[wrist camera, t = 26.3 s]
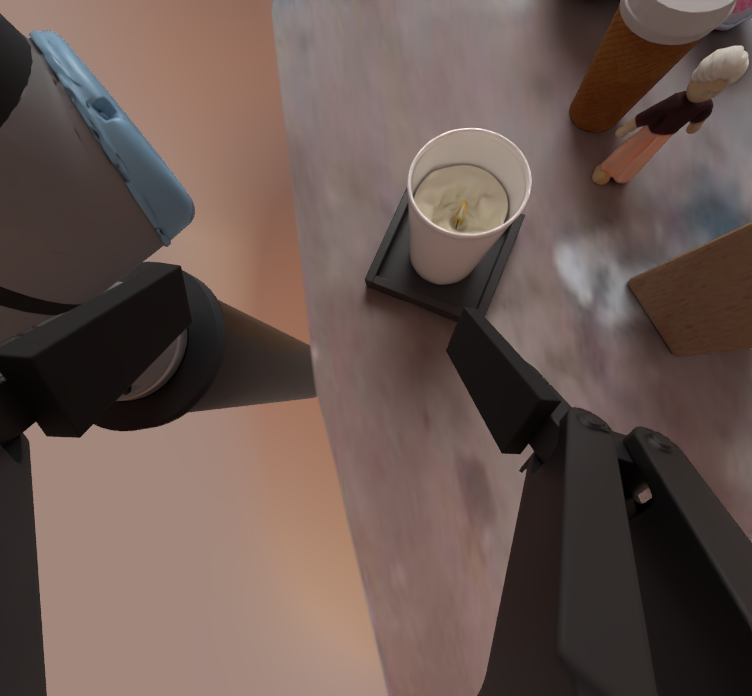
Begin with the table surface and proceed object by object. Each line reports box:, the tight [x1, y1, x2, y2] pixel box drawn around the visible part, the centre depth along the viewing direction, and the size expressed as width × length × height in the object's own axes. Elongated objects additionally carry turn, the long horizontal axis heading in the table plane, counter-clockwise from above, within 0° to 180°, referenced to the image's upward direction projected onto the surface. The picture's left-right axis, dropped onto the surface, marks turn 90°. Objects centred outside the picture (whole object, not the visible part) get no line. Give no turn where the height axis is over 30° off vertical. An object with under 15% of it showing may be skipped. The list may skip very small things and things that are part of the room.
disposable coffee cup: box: [570, 0, 737, 132], centre depth 29 cm, size 10×10×12 cm
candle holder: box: [407, 128, 532, 285], centre depth 27 cm, size 10×10×12 cm
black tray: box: [365, 189, 525, 322], centre depth 33 cm, size 14×14×2 cm
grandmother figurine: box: [592, 46, 749, 185], centre depth 28 cm, size 8×4×13 cm, turn 100°
